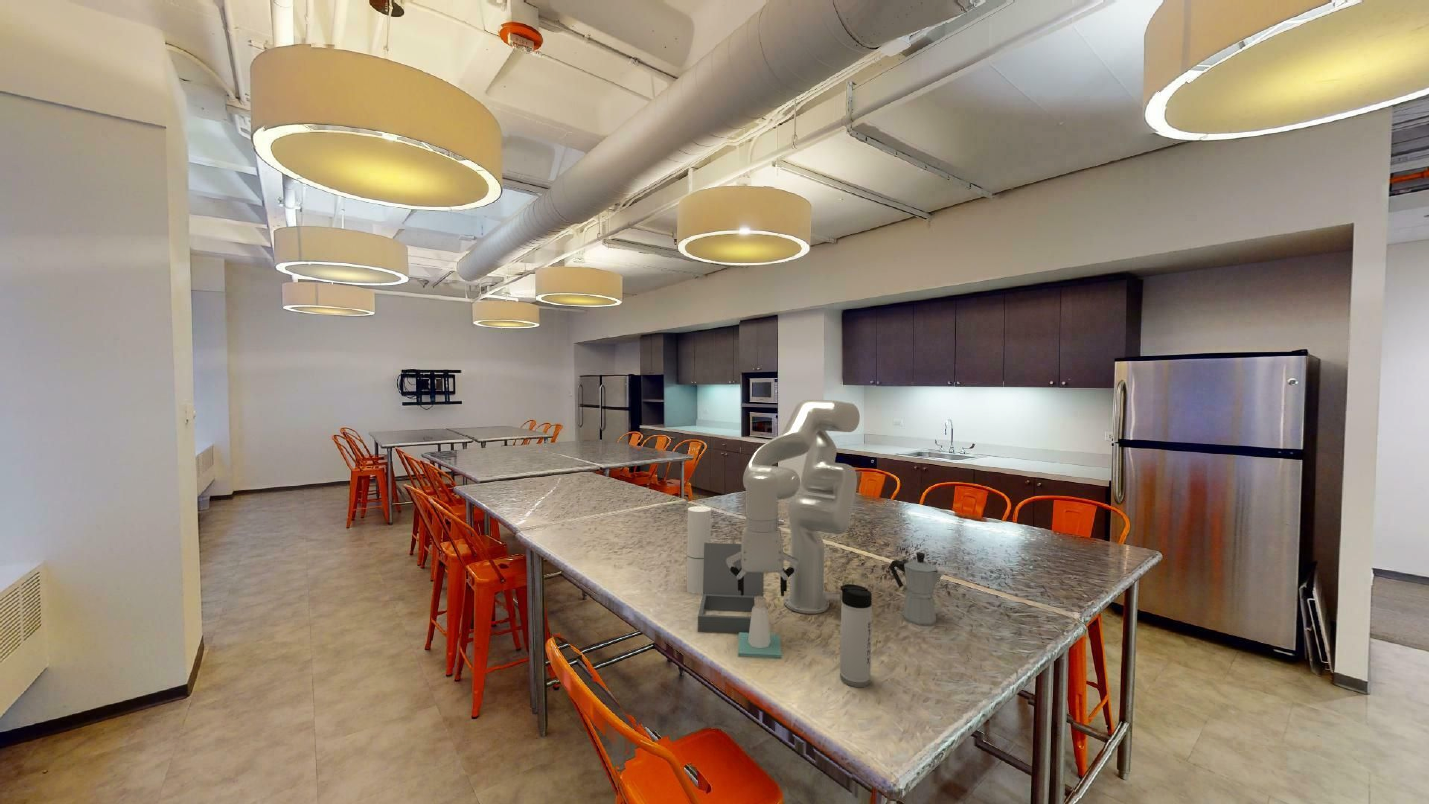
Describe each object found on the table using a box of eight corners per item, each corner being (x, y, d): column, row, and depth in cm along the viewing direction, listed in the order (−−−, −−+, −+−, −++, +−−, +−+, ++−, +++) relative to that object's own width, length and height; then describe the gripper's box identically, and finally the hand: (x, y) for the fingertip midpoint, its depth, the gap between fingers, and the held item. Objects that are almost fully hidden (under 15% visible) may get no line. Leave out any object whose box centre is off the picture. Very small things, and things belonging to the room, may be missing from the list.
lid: (763, 596, 142) (763, 595, 143) (763, 544, 144) (763, 544, 145) (702, 594, 143) (703, 592, 144) (704, 542, 145) (704, 542, 146)
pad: (779, 637, 127) (779, 634, 127) (781, 658, 117) (781, 655, 117) (738, 635, 127) (739, 632, 127) (738, 656, 117) (738, 653, 117)
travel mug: (834, 671, 111) (836, 581, 111) (863, 670, 112) (865, 581, 112) (844, 688, 105) (846, 593, 105) (875, 687, 106) (877, 592, 105)
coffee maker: (948, 620, 137) (950, 554, 137) (937, 631, 131) (939, 562, 130) (895, 604, 147) (896, 542, 147) (881, 613, 141) (883, 549, 140)
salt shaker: (743, 642, 122) (744, 597, 122) (757, 635, 126) (758, 591, 126) (760, 651, 118) (761, 604, 118) (775, 643, 122) (775, 597, 122)
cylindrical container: (711, 585, 159) (712, 506, 159) (708, 594, 152) (709, 512, 152) (688, 584, 160) (689, 505, 159) (685, 593, 153) (686, 511, 152)
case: (763, 610, 142) (763, 596, 142) (764, 634, 128) (765, 619, 128) (702, 608, 143) (702, 594, 143) (697, 631, 129) (697, 616, 129)
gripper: (796, 519, 125) (796, 587, 126) (726, 519, 126) (727, 586, 127) (799, 529, 117) (799, 601, 118) (725, 528, 118) (725, 600, 119)
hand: (762, 593), depth 122 cm, fingers open, 9 cm apart
